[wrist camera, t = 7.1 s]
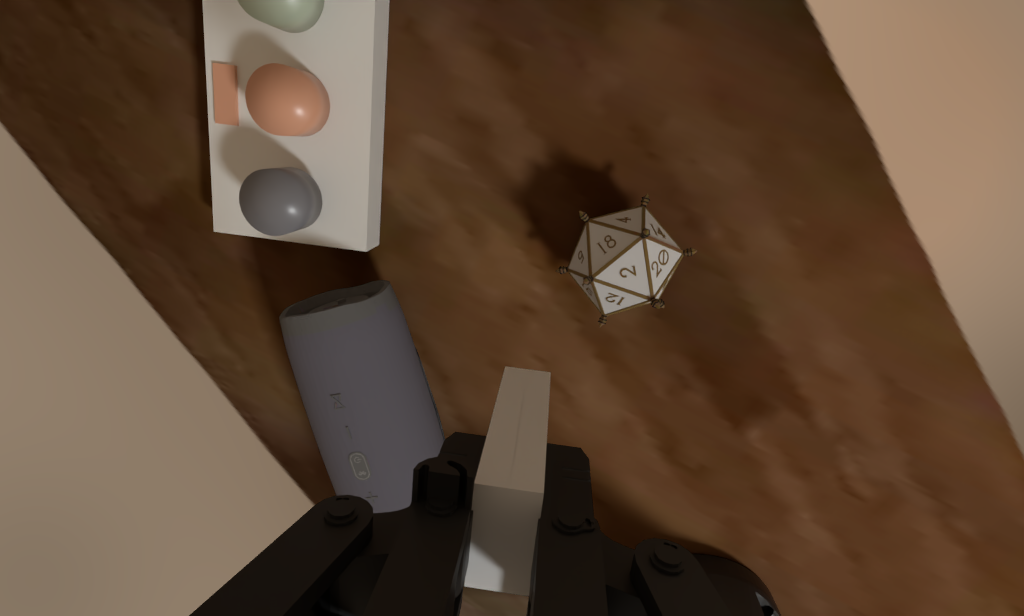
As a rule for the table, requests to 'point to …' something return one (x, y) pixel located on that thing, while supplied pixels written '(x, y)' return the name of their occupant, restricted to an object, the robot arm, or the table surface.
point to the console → (324, 155)
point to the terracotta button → (287, 100)
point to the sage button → (285, 13)
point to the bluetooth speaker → (363, 391)
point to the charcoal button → (280, 200)
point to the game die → (624, 260)
